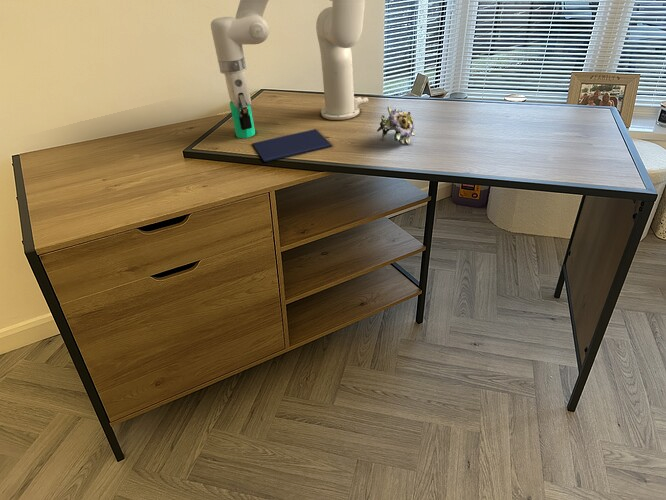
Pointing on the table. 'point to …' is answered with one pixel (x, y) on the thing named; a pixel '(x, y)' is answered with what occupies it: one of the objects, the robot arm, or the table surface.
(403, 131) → the passion flower
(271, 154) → the cloth
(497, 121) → the table surface
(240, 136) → the candle
